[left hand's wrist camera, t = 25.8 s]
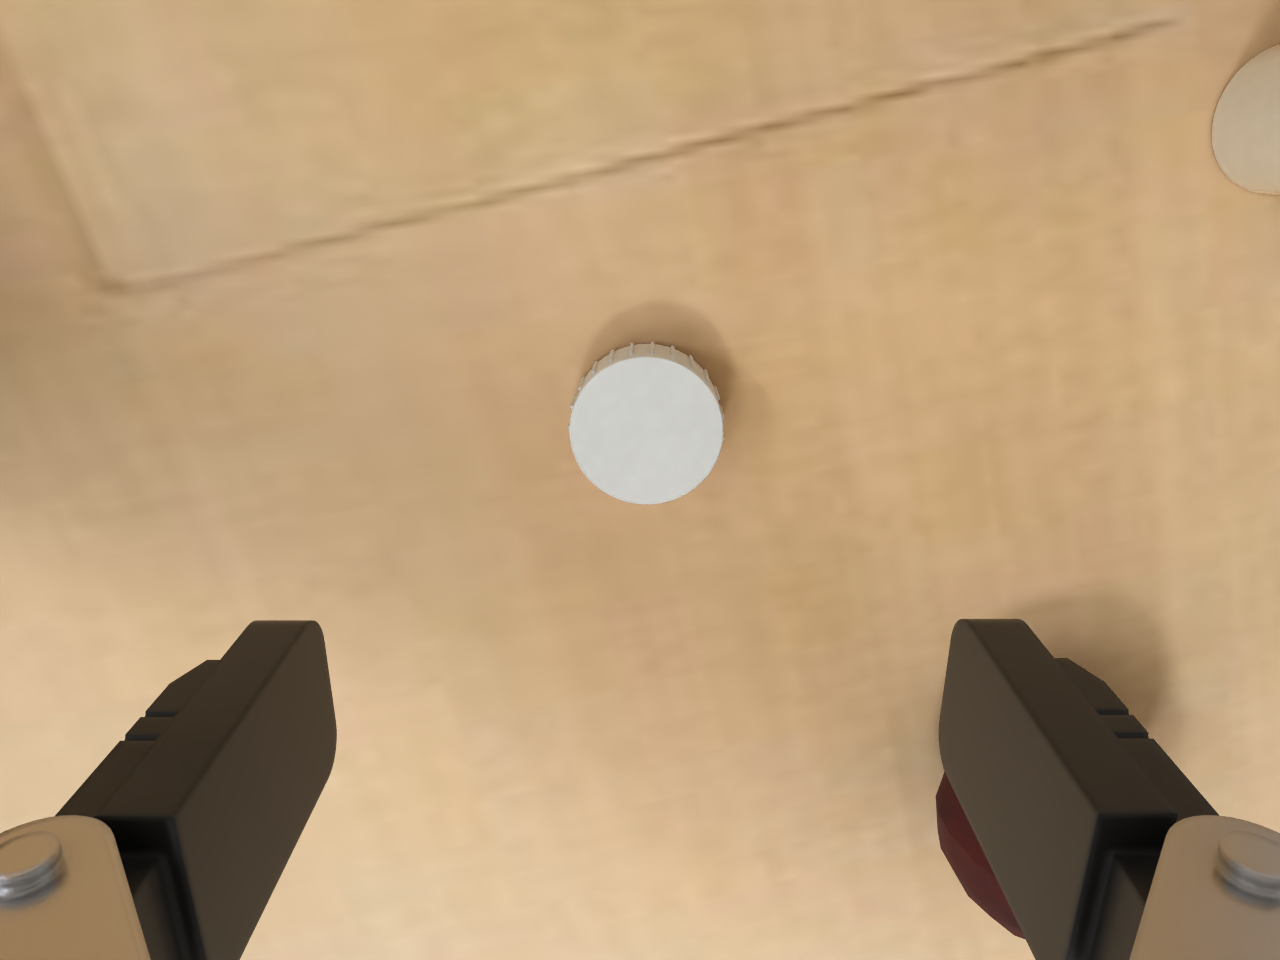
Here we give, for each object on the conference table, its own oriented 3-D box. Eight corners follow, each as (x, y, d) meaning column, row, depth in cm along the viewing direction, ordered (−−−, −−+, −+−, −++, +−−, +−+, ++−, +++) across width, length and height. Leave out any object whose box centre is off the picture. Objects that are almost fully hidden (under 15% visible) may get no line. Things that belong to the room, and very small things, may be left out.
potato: (1167, 756, 32) (1299, 911, 25) (987, 871, 34) (1066, 1043, 27) (1049, 619, 30) (1159, 745, 24) (866, 748, 32) (920, 899, 26)
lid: (556, 462, 29) (549, 484, 27) (594, 322, 28) (589, 334, 26) (696, 500, 29) (698, 524, 28) (740, 364, 28) (746, 378, 26)
